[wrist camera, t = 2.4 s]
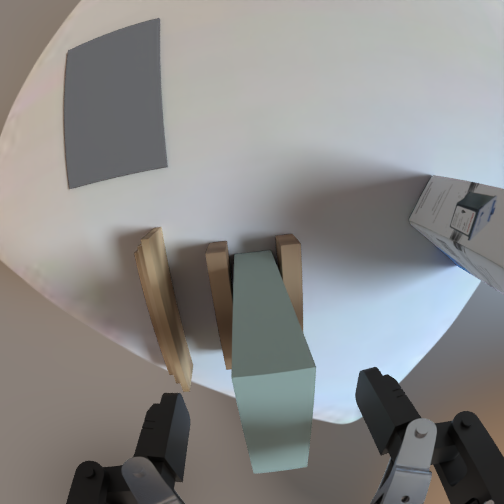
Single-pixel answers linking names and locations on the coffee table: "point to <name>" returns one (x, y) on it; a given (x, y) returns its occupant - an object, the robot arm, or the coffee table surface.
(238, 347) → the grey-green rectangular block
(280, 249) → the walnut slot block
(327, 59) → the coffee table surface
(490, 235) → the ink box
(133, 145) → the rubber mat
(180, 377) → the wooden bar
